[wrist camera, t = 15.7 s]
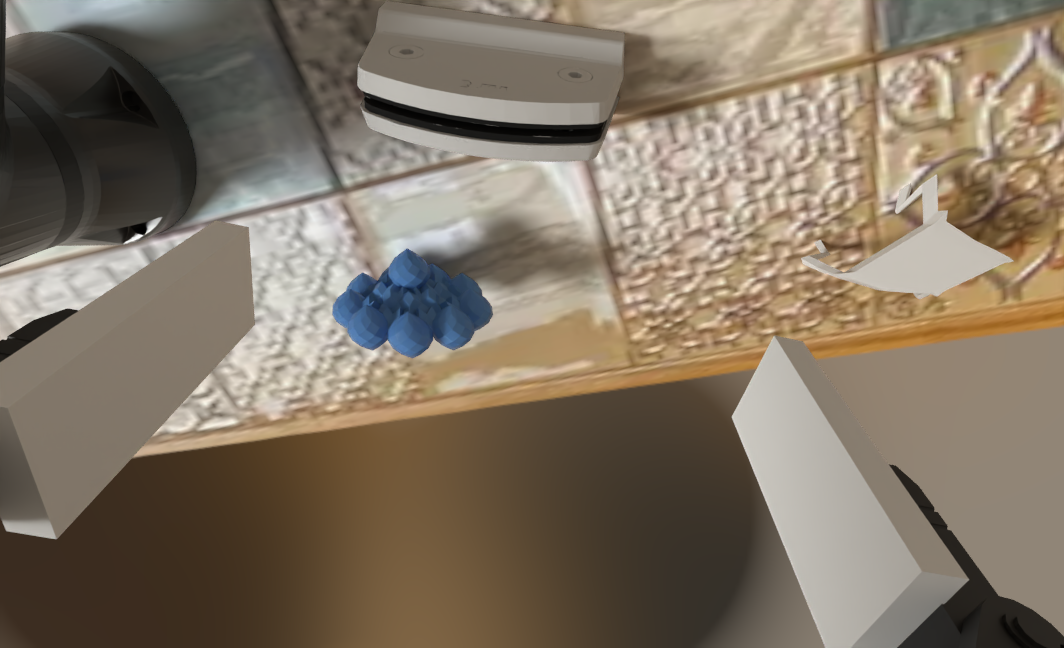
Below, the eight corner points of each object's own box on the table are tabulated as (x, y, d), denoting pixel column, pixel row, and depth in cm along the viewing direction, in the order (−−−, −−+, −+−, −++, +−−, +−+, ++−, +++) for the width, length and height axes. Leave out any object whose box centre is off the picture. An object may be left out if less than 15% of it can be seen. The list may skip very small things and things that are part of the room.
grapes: (504, 226, 43) (475, 285, 32) (505, 306, 46) (480, 384, 35) (358, 222, 44) (282, 277, 33) (369, 300, 47) (303, 374, 36)
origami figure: (964, 149, 37) (1014, 162, 33) (977, 258, 40) (1024, 283, 36) (782, 216, 40) (805, 236, 36) (807, 312, 43) (831, 342, 39)
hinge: (630, 33, 36) (629, 99, 29) (616, 104, 39) (612, 178, 33) (380, -1, 37) (321, 57, 30) (388, 72, 40) (336, 138, 33)
